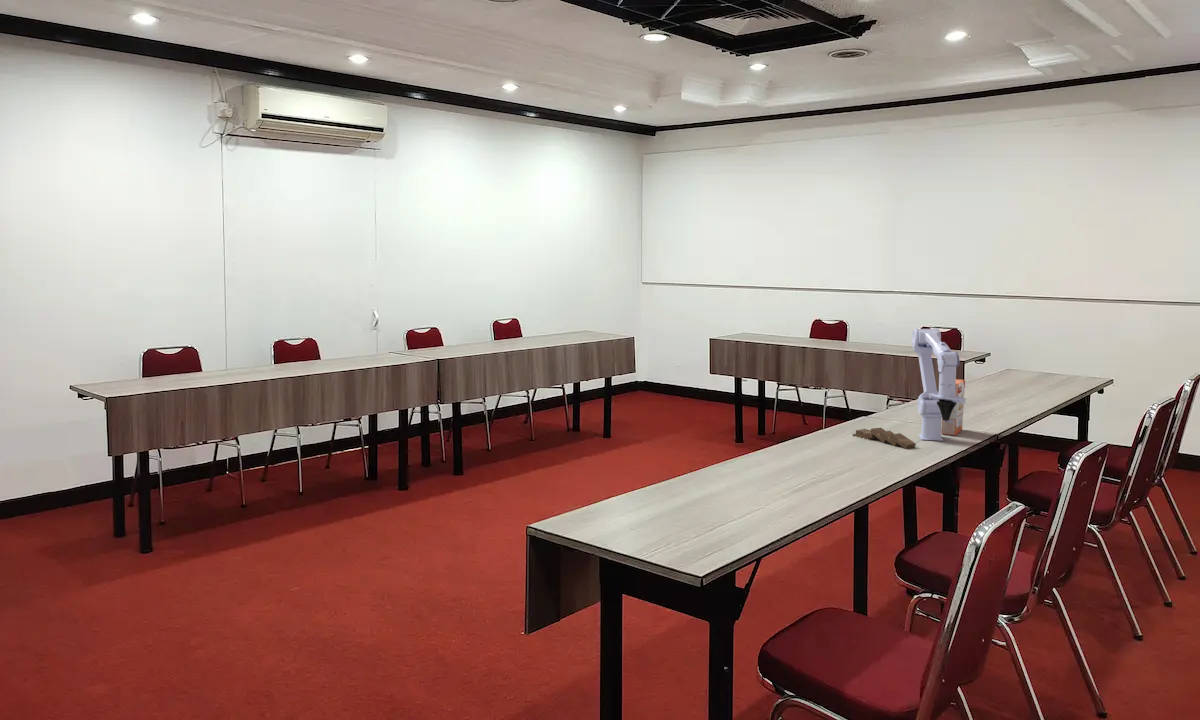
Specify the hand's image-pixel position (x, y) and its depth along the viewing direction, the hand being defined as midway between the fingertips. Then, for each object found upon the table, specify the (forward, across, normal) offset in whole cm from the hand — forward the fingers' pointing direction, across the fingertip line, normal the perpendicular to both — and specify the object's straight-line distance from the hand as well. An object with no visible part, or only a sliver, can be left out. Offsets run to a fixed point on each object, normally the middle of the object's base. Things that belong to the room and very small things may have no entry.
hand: (945, 420), depth 317 cm
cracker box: (+10, -16, +25) cm, 31 cm away
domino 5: (+10, -6, -11) cm, 16 cm away
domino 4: (+10, -11, -11) cm, 19 cm away
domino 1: (+9, -23, -11) cm, 27 cm away
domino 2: (+10, -24, -11) cm, 29 cm away
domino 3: (+9, -17, -11) cm, 22 cm away
